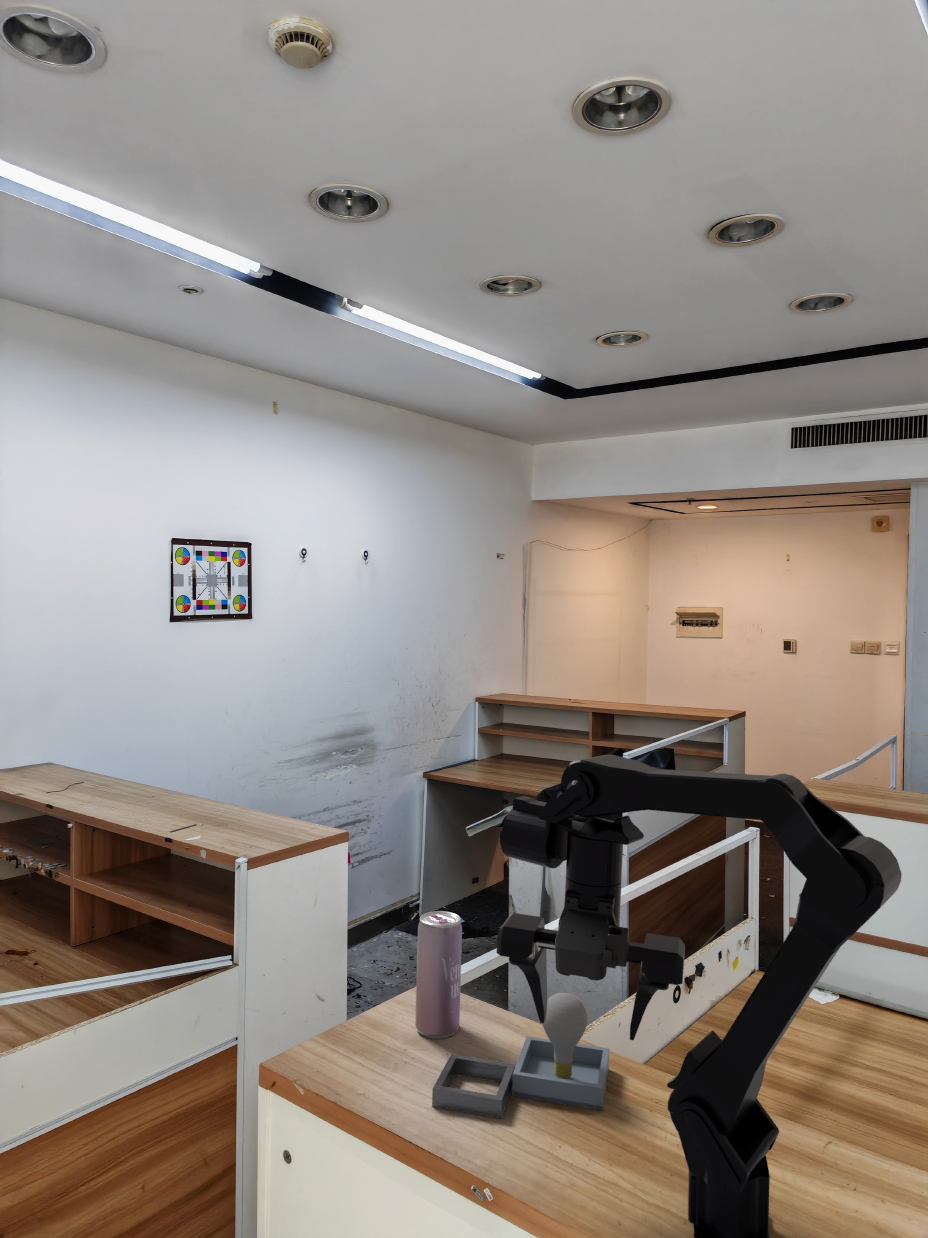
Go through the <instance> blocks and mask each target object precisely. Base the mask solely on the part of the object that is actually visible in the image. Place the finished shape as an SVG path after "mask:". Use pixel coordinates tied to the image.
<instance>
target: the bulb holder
mask: <svg viewBox="0 0 928 1238" xmlns="http://www.w3.org/2000/svg"><path fill="white" fill-rule="evenodd" d="M515 1067H516V1064H515V1063H510V1062H504V1061H499V1060H498V1061H497V1060H490V1059H485V1058H479V1057H471V1056H465V1055H459V1054H454V1053H450V1056H449V1058H448V1059H447V1061H446V1062H445V1065H444V1066H443V1068H442V1070H441V1072H440V1074H439V1076H438V1078H437V1080H436V1081H435V1083H434V1085H433V1087H432V1094H431V1095H432V1097H431V1098H432V1099H431V1100H432V1101H431V1106H432V1107H433V1108H439V1109H445V1110H450V1111H456V1112H461V1113H465V1114H466V1113H467V1114H472V1115H478V1116H483V1117H491V1118H496V1119H502V1118H503V1115H504V1112H505V1109H506V1107H507V1104H508V1102H509V1099H510V1095H511V1094H512V1084H513V1072H514V1069H515ZM455 1076H459V1077H460V1076H461V1077H464V1078H465V1077H467V1078H472V1079H473V1078H474V1079H478V1080H484V1081H490V1082H496V1083H500V1085H499V1086H498V1090H497V1092H496V1094H491V1093H484V1092H480V1091H479V1092H478V1091H473V1090H468V1089H462V1088H461V1089H460V1088H456V1087H455V1088H454V1087H450V1086H451V1085H452V1083H453V1080H454V1078H455Z"/></svg>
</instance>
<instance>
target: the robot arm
mask: <svg viewBox="0 0 928 1238" xmlns="http://www.w3.org/2000/svg"><path fill="white" fill-rule="evenodd" d="M560 779H561V780H560V785H559V787H558V788H557V789H556V790H555V792H554V793H553V794H552V796H551V797H550V798H549V800H548V801H547V802H545V801H540V800H537V799H535V798H533V797H531V796H530V797H529V796H526V795H524V796H519V797H515V798H513V799H512V808H511V809H510V811H509V812H508V813H507V815H506V817H505V819H504V821H503V824H502V827H501V829H500V831H499V844H500V849H501V850H502V853H503V855H504V856H506V857H508V858H510V859H513V860H518V861H522V862H525V863H529V864H532V865H537V866H541V867H545V868H547V869H557V868H558V867H560V866H561V865H562V864H563V862H565V861H566V864H565V865H566V867H565V881H564V882H565V883H564V884H565V885H564V904H563V905H564V906H563V909H562V912H561V915H560V917H559V919H558V925H557V926H558V928H557V929H558V930H555V929H548V928H546V927H545V925H546V923H545V918H544V917H543V916H538V915H529V914H524V913H518V912H517V913H516V912H512V914H511V915H509V916H508V917H507V918H506V919H505V921H504V922H503V924H502V925H501V926H500V928H499V929H498V932H497V938H496V954H497V955H499V956H500V957H505V958H508V962H509V964H510V965H512V966H516V967H518V968H519V969H520V971H522V973H523V974H524V977H525V978H526V981H527V983H528V987H529V990H530V993H531V995H532V1000H533V1003H534V1006H535V1010H536V1013H537V1015H538V1021H539V1023H540V1024H542V1023H544V1022H545V1020H546V1012H547V1000H548V971H547V964H548V960H547V950H550V951H551V950H553V951H554V952H555V956H554V957H555V970H556V972H557V974H560V975H561V976H565V977H566V976H567V977H569V976H577V977H582V978H587V979H589V981H590V980H591V981H601V980H603V979H605V977H606V975H607V971H608V970H607V969H608V968H609V969H616V968H617V967H623V968H626V967H627V965H628V963H631V964H632V963H633V964H639V965H640V971H639V976H638V981H637V987H636V992H635V996H634V997H635V999H634V1004H633V1008H632V1015H631V1020H630V1024H629V1040H630V1041H634V1040H635V1037H636V1035H637V1033H638V1030H639V1028H640V1026H641V1022H642V1020H643V1017H644V1014H645V1012H646V1010H647V1007H648V1006H649V1004H650V1002H651V1000H652V998H653V997H654V995H655V994H656V993H657V992H658V991H667V990H668V989H669V988H670V985H674V986H679V985H683V980H684V970H685V954H686V953H685V952H686V944H685V943H684V942H683V940H682V939H681V938H680V937H676V936H669V935H662V934H657V933H651V932H649V933H648V932H646V933H645V934H646V935H645V939H644V943H640V942H633V941H630V933H629V932H630V931H629V928H628V927H624V926H623V927H622V926H620V924H621V901H622V879H623V878H622V877H623V874H622V873H623V856H624V855H623V853H624V852H623V851H624V847H623V846H624V845H625V846H628V845H630V844H633V843H636V842H638V841H641V840H643V839H644V838H645V835H644V833H643V832H642V831H641V829H640V828H639V827H638V826H637V825H635V823H634V822H633V821H632V819H631V818H630V815H628V814H627V815H624V816H620V817H616V819H615V820H610V819H606V818H600V817H603V816H614V815H619V814H624V813H632V812H638V811H639V812H640V811H656V812H666V813H667V812H669V813H677V814H688V815H690V814H691V815H701V816H711V817H721V818H732V819H740V820H741V819H743V820H754V821H755V820H756V821H761V822H762V823H763V824H764V825H765V826H766V827H767V828H768V830H770V832H771V833H772V834H773V836H774V837H775V840H777V841H776V842H778V844H779V845H780V847H781V849H782V850H783V852H784V854H785V855H786V857H787V859H788V860H789V861H790V862H791V864H792V865H793V867H795V868H796V869H797V871H798V872H800V874H802V876H803V877H804V878H805V879H806V880H804V881H805V882H804V884H803V886H802V890H801V893H800V896H799V900H798V904H797V908H796V915H795V919H794V923H793V925H792V928H791V930H790V931H789V933H788V934H787V937H785V939H784V941H783V943H782V945H780V948H778V950H777V952H776V954H775V955H774V957H773V959H772V960H771V962H770V963H769V965H768V966H767V968H766V970H765V972H764V973H763V974H762V976H761V978H760V979H759V981H758V982H757V984H756V986H755V987H754V989H753V991H751V994H750V996H749V997H748V999H747V1001H746V1002H745V1003H744V1005H743V1007H742V1008H741V1010H740V1012H738V1015H737V1017H736V1018H735V1019H734V1021H733V1023H732V1024H731V1026H730V1028H729V1029H728V1031H727V1032H726V1034H725V1036H724V1037H723V1039H721V1037H720V1036H719V1035H718V1034H717V1033H716V1032H715V1031H714V1030H711V1031H710V1032H709V1033H707V1034H706V1035H705V1036H704V1037H703V1038H702V1039H701V1040H700V1041H698V1042H697V1044H696V1045H694V1046H693V1047H692V1048H691V1049H690V1050H689V1051H688V1052H687V1054H685V1057H684V1059H683V1061H682V1064H681V1068H680V1070H679V1072H678V1073H677V1074H676V1075H675V1076H674V1077H672V1079H671V1080H669V1081H668V1082H667V1083H666V1087H667V1088H669V1089H671V1090H672V1092H671V1093H670V1095H669V1097H668V1101H667V1110H668V1112H669V1115H670V1120H671V1121H672V1123H673V1126H674V1127H675V1129H676V1132H677V1133H678V1136H679V1139H680V1143H681V1147H682V1151H683V1154H684V1157H685V1161H686V1164H687V1168H688V1178H687V1179H688V1181H687V1183H688V1185H687V1187H688V1188H687V1219H688V1222H689V1223H690V1224H693V1238H771V1237H770V1232H769V1231H770V1230H769V1228H770V1226H769V1225H770V1183H771V1180H770V1179H771V1177H770V1176H771V1175H770V1171H769V1170H770V1169H769V1164H768V1160H767V1156H766V1155H767V1154H768V1152H769V1151H771V1150H772V1148H774V1145H775V1143H776V1141H777V1138H778V1137H779V1134H780V1130H779V1127H778V1126H777V1125H776V1123H775V1122H774V1121H773V1118H771V1116H770V1115H769V1113H768V1112H767V1111H766V1109H765V1108H764V1106H763V1105H762V1103H761V1102H760V1100H759V1099H758V1096H759V1093H760V1091H761V1088H762V1085H763V1081H764V1077H765V1071H766V1067H767V1063H768V1060H769V1058H770V1057H771V1055H772V1053H773V1052H774V1050H775V1049H776V1047H777V1046H778V1044H779V1043H780V1042H781V1039H782V1038H783V1036H784V1035H785V1034H786V1032H787V1030H788V1029H789V1027H790V1026H791V1024H792V1023H793V1021H794V1020H795V1018H796V1016H797V1015H798V1013H799V1012H800V1010H801V1009H802V1007H803V1005H804V1004H805V1002H807V1000H808V998H809V996H810V995H811V993H812V992H813V990H814V989H815V987H816V985H817V984H818V983H819V981H820V980H821V978H822V977H823V975H824V973H825V972H826V970H827V969H828V967H829V966H830V964H831V963H832V961H833V959H834V958H835V956H836V955H837V953H838V952H839V950H840V948H841V947H842V946H844V944H846V942H847V941H848V940H849V939H850V938H851V937H853V935H854V934H855V933H857V932H858V931H859V930H860V929H861V928H862V927H864V925H865V924H866V923H867V922H868V921H869V920H870V919H871V918H872V917H873V916H874V915H875V914H876V913H877V912H878V911H879V910H880V909H881V908H882V907H883V906H884V905H885V904H886V902H888V901H889V899H890V898H891V897H893V896H894V894H895V893H896V892H897V891H898V890H899V887H900V884H901V882H902V870H901V868H900V864H899V861H898V859H897V858H896V856H895V855H894V853H893V852H892V850H891V849H890V848H889V847H887V846H886V845H885V844H884V843H883V842H882V841H880V840H877V839H875V838H873V837H871V836H870V837H869V836H865V835H864V834H863V833H862V832H861V831H860V830H859V829H858V828H857V827H856V826H855V825H854V824H853V823H852V822H851V821H850V820H849V819H848V818H846V817H845V816H843V815H842V814H840V813H839V812H838V811H837V810H835V809H834V808H832V807H831V806H830V805H828V804H827V803H826V802H824V801H823V800H822V799H820V798H819V797H817V795H815V794H814V793H813V792H812V791H811V790H810V789H809V788H808V787H807V786H806V785H805V784H804V783H803V782H802V781H801V780H800V779H799V778H797V777H796V776H794V775H792V774H787V773H778V774H774V775H769V774H768V775H766V774H765V775H764V774H747V773H732V772H731V773H729V772H717V771H716V772H713V771H698V770H697V771H696V770H680V769H665V768H664V769H663V768H658V767H654V766H651V765H648V764H647V763H646V764H645V763H644V762H642V761H638V760H636V759H633V758H627V757H624V756H619V755H615V754H604V755H598V756H594V757H593V756H591V757H589V758H582V759H577V760H574V761H571V762H570V763H569V764H568V766H566V768H565V769H564V771H563V773H562V775H561V778H560ZM575 817H583V818H588V819H587V820H585V822H582V821H578V820H573V819H574V818H575Z"/></svg>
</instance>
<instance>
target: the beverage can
mask: <svg viewBox="0 0 928 1238" xmlns="http://www.w3.org/2000/svg"><path fill="white" fill-rule="evenodd" d="M461 920H462V919H461V916H460V915H458V914H456V913H453V912H450V911H443V910H437V911H436V910H435V911H429V912H426V913H425V912H424V913H423V914H421V915H420V917H419V923H418V926H417V949H416V952H417V953H416V956H417V958H416V988H415V989H416V990H415V992H416V993H415V1023H414V1024H415V1027H416V1030H417V1031H418V1033H419V1034H420V1035H421V1036H423V1037H425V1038H429V1039H435V1040H438V1039H439V1040H441V1039H446V1038H449V1037H452V1036H453V1035H455V1034H456V1032H457V1031H458V1029H459V1027H460V1021H461V1020H460V1014H461V1013H460V1012H461V982H462V981H461V979H462V978H461V977H462V976H461V975H462V973H461V972H462V943H463V942H462V940H463V939H462V938H463V937H462V936H463V926H462V923H461Z"/></svg>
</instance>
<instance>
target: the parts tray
mask: <svg viewBox="0 0 928 1238" xmlns="http://www.w3.org/2000/svg"><path fill="white" fill-rule="evenodd" d="M523 1042H524V1043H523V1045H522V1048H521V1050H520V1054H519V1056H518V1059H517V1062H516V1064H515V1069H514V1072H513V1084H512V1090H511V1095H512V1097H518V1098H522V1099H530V1100H536V1101H542V1102H548V1103H554V1104H557V1105H558V1104H560V1105H564V1106H565V1105H566V1106H571V1107H578V1108H583V1109H589V1110H595V1111H600V1112H603V1110H604V1104H605V1103H604V1102H605V1096H606V1091H605V1090H607V1084H606V1083H608V1076H609V1071H610V1070H609V1069H610V1048H609V1047H601V1046H597V1045H596V1046H594V1045H587V1044H582V1043H577V1045H576V1047H575V1048H574V1051H573V1061H572V1075H571V1077H569V1078H567V1079H561V1078H558V1077H557V1076H556V1075H555V1074H554V1065H555V1064H554V1062H555V1060H554V1048H553V1046H552V1044H551V1042H550V1040H549V1038H548V1039H547V1038H541V1037H534V1036H528V1035H527V1036H526V1037H525V1040H524V1041H523ZM608 1070H609V1071H608Z"/></svg>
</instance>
